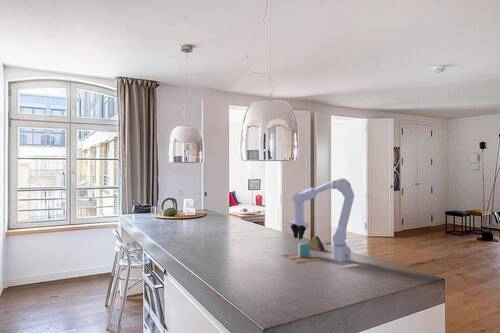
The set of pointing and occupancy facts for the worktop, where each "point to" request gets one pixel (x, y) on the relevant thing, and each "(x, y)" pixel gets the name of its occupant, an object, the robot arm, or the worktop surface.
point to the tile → (304, 250)
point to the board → (304, 259)
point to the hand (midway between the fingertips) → (298, 238)
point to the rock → (316, 244)
